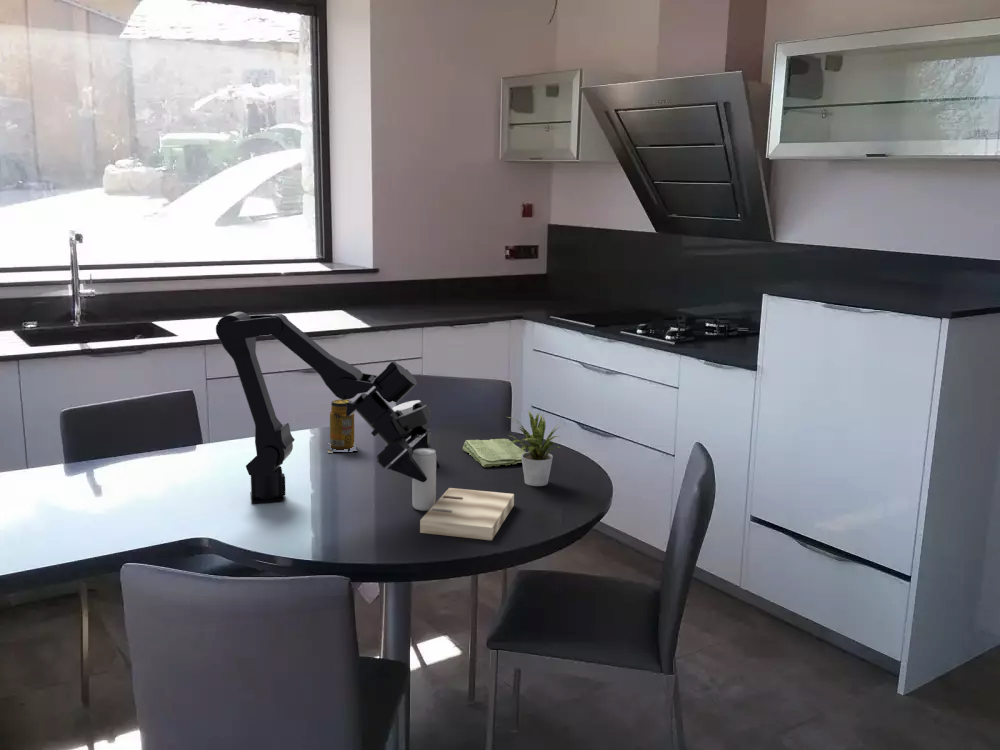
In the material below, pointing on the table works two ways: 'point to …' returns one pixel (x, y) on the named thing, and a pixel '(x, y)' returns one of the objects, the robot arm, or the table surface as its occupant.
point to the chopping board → (467, 514)
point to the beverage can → (425, 490)
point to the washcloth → (494, 452)
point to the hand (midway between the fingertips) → (432, 474)
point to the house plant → (536, 453)
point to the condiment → (341, 426)
